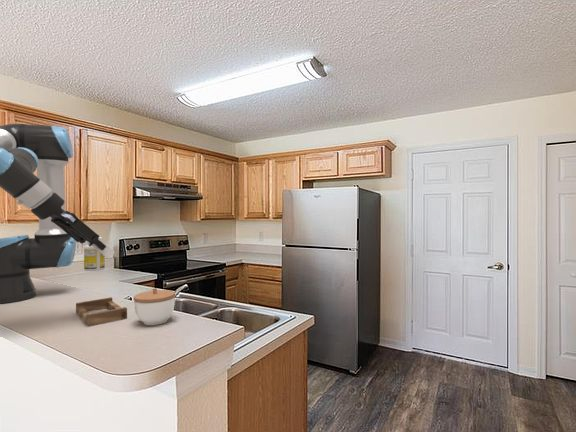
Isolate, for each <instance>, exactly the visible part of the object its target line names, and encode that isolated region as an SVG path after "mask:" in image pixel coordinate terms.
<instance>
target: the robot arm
mask: <svg viewBox="0 0 576 432" xmlns="http://www.w3.org/2000/svg"><path fill="white" fill-rule="evenodd" d="M68 131H69V130H68V129H66V128H65V127H63V126H54V125H45V124H43V125H42V124H30V123H29V124H28V123H8V124H3V125H0V189H2V190H3V191H5V192H6V193H7V194H9V196H11V197H12V198H13V199H15V200H16V201H17V202H16V203H17V205H19V206H20V205H22V206H23V207H24V208H26V209H27V210H28V209H29V210H30V209H31V210H30V212H31V213H32V214H33V215H34V216H36V217H37V218H38V230H37V231H36V232H34V237H33V238H30V236H29V234H22V235H16V236H15V235H14V236H10V237H9V236H8V237H1V238H0V304H7V303H9V304H10V303H16V302H21V301H25V300H29V299H32V298H34V297H36V296H37V289H36V287H35V285H34V283H33V280H32V277H31V276H30V274H31V273H30V270H35V269H37V270H38V269H48V268H49V269H50V268H57V269H58V268H62V267H70V266H71V265H72V263H73V262H74V258H75V254H76V246H77V243H79V244H82V246H84V247H85V245H87V244H88V243H87V241H88V242H89V243H90V244H89V246H92V247H94V248H95V249H96V250H97V251H98V252H100V253H101V254H102V255H103V256H105V259H106V260H110V258H111V257H112V256H113V255H114V254H115V253H116V251H114V249H112V248H111V247H110V246H108V245H107V244H106V243H105V242H104V241H103V240H102V241H101V240H100V239H99V237H101V236H100V235H99V234H98V233H96V232H95V231H94V230H93V229H92V228H91V227H89V226H88V225H87V224H86V223H84V222H83V220H81V219H79V217H77V215H75V213H74V212H70V211H69V210H67V209H66V189H65V188H66V186H65V184H66V183H65V167H66V165H68V164H69V159H73V157H74V153H73V152H74V151H73V150H74V149H73V144H72V139H71V136H70V134H69V132H68ZM35 171H36V174H35Z"/></svg>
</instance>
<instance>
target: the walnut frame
mask: <svg viewBox="0 0 576 432" xmlns="http://www.w3.org/2000/svg"><path fill="white" fill-rule="evenodd" d="M104 309H105V310H104ZM106 309H108V310H106ZM99 310H102V311H99ZM95 311H97V312H95ZM90 312H92V313H90ZM75 313H76V315H77V316H78V317H79V319H81V321H82V322H83V323H84V324H85V325H86V326H87V327H93V326H97V325H102V324H107V322H108V323H111V322H112V323H113V322H117V321H120V320H121V321H122V320H125V319H126V320H127V319H128V307H126V306H123V307H121V306H120V305H118V303H116V302H114V301H113V297H111V296H110V297H103V298H99V299H92V300H86V301H85V300H84V301H79V302H75Z"/></svg>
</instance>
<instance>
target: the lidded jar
mask: <svg viewBox="0 0 576 432" xmlns="http://www.w3.org/2000/svg"><path fill="white" fill-rule="evenodd" d="M175 299H176V292H175V290H171V289H158V288H157V287H156V288H155V287H154V288H153V287H152V290H149V291H142V292H140V293H137V294H135V295H134V296H133V301H134V310H135V315H136V316H137V318H138V319H139V320H140V322H142V323H143V325H145V326H157V325H162V324H164V323H166V322H167V321H168V319H169V318H170V317H171V316H172V315H173V312H174V309H175V306H176V305H175V304H176V303H175V302H176V300H175Z"/></svg>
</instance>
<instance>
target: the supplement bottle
mask: <svg viewBox="0 0 576 432" xmlns="http://www.w3.org/2000/svg"><path fill="white" fill-rule="evenodd" d="M99 239H100V240H101V241H103V237H101V236H100V237H99ZM87 243H88V244H87V245H85V246H84V247H83V270H84V271H85V272H99V271H103V270H105V267H106V264H105V263H106V261H105V259H106V257H105V256H103V255H102V254H101V253H100V252H98V251H97V250H96V249H95V248H94V247H92V246H89V244H90V243H89V242H88V241H87Z"/></svg>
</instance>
